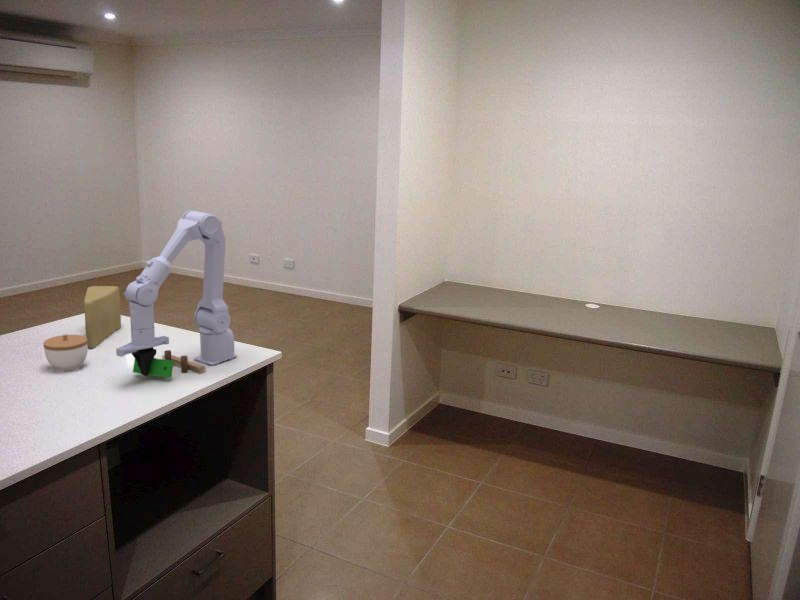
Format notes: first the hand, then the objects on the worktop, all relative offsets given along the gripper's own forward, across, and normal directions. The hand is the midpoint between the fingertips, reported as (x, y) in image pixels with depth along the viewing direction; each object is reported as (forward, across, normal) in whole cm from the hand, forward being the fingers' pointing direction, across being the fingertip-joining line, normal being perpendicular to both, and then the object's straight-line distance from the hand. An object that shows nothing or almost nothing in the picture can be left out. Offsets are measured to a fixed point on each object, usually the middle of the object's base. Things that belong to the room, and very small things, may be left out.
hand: (144, 375), depth 163 cm
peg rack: (+1, -11, 0) cm, 11 cm away
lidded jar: (+2, +7, -24) cm, 25 cm away
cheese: (+1, -12, -40) cm, 42 cm away
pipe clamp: (+1, -2, +1) cm, 3 cm away
